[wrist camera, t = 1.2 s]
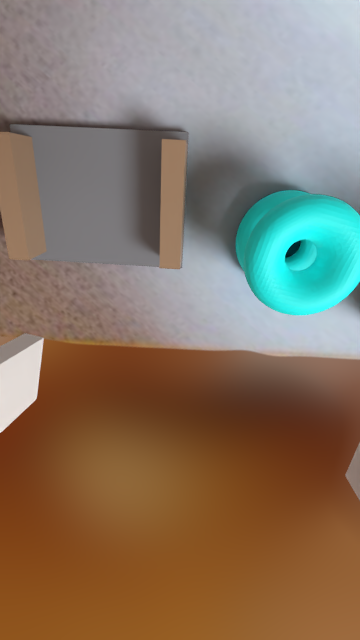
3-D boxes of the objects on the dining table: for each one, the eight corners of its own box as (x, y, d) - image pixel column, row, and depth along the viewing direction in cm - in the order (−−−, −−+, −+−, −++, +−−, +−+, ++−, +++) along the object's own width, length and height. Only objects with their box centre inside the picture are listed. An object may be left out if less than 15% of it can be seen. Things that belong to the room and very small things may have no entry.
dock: (15, 125, 31) (-17, 117, 27) (188, 133, 31) (186, 126, 26) (34, 257, 37) (11, 268, 32) (182, 265, 36) (179, 279, 32)
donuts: (229, 303, 27) (273, 178, 23) (222, 271, 36) (252, 177, 32) (340, 333, 28) (403, 216, 23) (306, 293, 37) (346, 204, 32)
